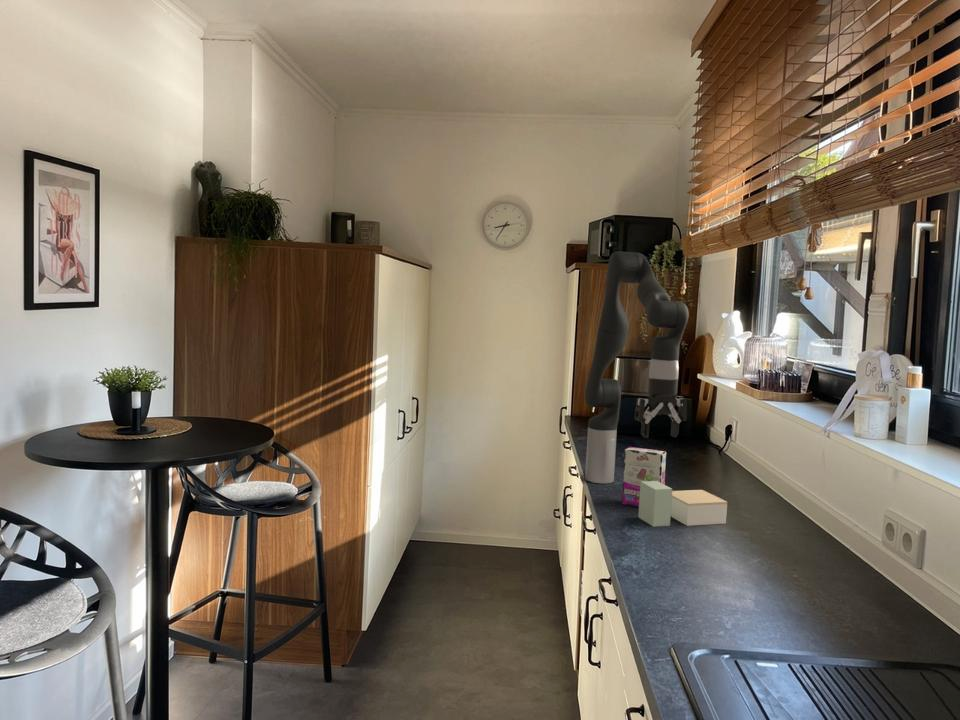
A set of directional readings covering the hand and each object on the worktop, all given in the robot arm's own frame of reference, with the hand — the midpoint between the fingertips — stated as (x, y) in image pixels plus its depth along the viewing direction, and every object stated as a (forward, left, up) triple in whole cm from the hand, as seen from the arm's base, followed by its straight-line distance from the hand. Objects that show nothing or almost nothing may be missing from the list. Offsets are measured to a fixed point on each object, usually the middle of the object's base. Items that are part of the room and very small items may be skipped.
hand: (659, 436), depth 196 cm
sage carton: (0, 0, -23) cm, 23 cm away
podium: (-1, +13, -23) cm, 27 cm away
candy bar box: (-14, +4, -23) cm, 27 cm away
